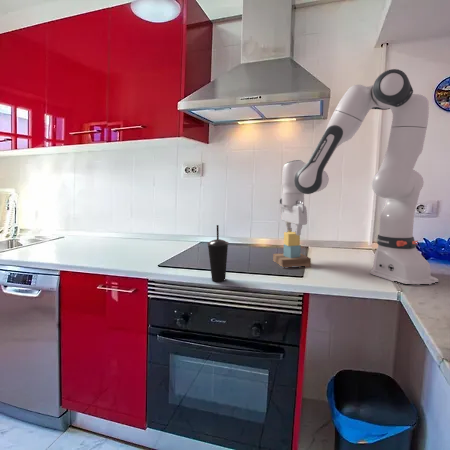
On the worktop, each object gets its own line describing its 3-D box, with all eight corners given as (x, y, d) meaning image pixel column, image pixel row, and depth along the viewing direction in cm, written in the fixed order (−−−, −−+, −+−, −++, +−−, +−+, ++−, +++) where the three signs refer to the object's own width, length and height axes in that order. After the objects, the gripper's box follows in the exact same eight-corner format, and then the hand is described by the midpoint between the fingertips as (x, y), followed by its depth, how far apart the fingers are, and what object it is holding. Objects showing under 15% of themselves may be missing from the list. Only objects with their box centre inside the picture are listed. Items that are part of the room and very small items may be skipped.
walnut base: (310, 267, 131) (310, 258, 131) (282, 269, 129) (282, 260, 129) (298, 261, 143) (298, 252, 142) (273, 262, 141) (273, 253, 140)
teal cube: (300, 256, 134) (300, 245, 133) (290, 258, 132) (290, 246, 131) (293, 254, 138) (293, 243, 138) (283, 255, 136) (283, 244, 136)
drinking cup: (206, 283, 111) (205, 226, 109) (209, 277, 119) (207, 223, 116) (228, 283, 111) (227, 226, 108) (229, 276, 119) (228, 223, 116)
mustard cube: (299, 245, 133) (299, 233, 132) (288, 246, 132) (288, 234, 131) (294, 243, 137) (295, 231, 137) (283, 243, 136) (284, 232, 136)
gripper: (311, 201, 122) (311, 236, 124) (291, 199, 142) (291, 230, 144) (295, 201, 121) (296, 237, 123) (277, 200, 141) (278, 230, 143)
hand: (293, 233), depth 134 cm, fingers open, 8 cm apart
